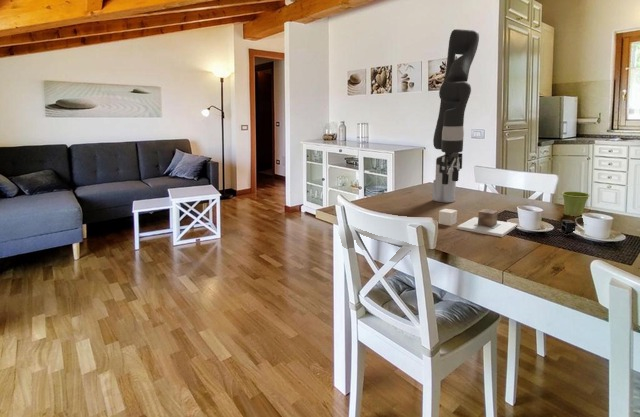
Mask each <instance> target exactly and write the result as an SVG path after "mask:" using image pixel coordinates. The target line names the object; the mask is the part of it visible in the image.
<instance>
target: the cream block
mask: <svg viewBox="0 0 640 417" xmlns="http://www.w3.org/2000/svg"><path fill="white" fill-rule="evenodd" d="M457 220H458V210H456V209H452V208H443V209H441V210H439V211H438V223H439V225H445V226H451V227H452V226H454V225H455V224H457Z"/></svg>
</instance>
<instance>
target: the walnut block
mask: <svg viewBox="0 0 640 417" xmlns="http://www.w3.org/2000/svg"><path fill="white" fill-rule="evenodd" d="M498 212H499V211H498V210H493V209H486V208H484V209H481V210H479V211H478V217H477V218H478V225H482V226H487V227H493V226H494V225H496V224H497V221H498Z"/></svg>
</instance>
